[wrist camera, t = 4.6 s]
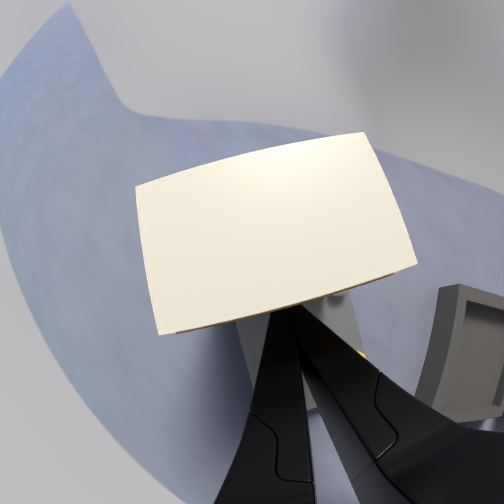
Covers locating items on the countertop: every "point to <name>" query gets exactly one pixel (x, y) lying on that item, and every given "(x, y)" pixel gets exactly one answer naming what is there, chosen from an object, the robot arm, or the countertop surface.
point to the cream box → (268, 232)
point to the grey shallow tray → (465, 356)
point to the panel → (325, 309)
